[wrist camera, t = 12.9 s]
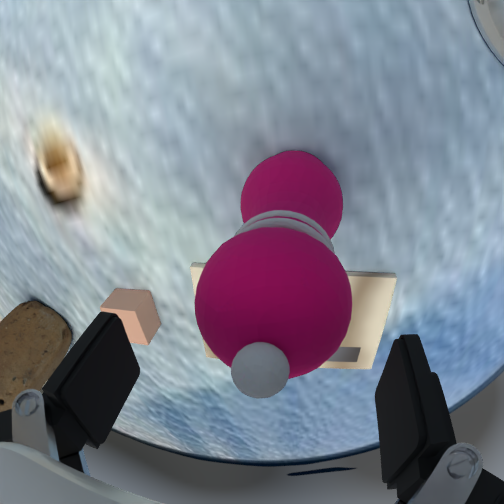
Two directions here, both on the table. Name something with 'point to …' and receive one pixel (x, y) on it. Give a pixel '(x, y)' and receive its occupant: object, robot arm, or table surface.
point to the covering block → (134, 313)
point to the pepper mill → (278, 278)
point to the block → (30, 349)
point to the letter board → (362, 319)
